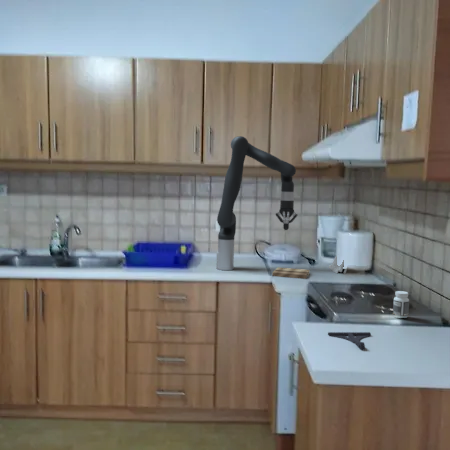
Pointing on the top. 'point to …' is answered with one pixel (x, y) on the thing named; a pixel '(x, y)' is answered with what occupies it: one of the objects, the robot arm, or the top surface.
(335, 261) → the white crumpled paper
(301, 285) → the top surface
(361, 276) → the top surface
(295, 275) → the walnut plank
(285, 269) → the oak plank
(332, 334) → the bracket
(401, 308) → the pill bottle
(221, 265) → the robot arm
